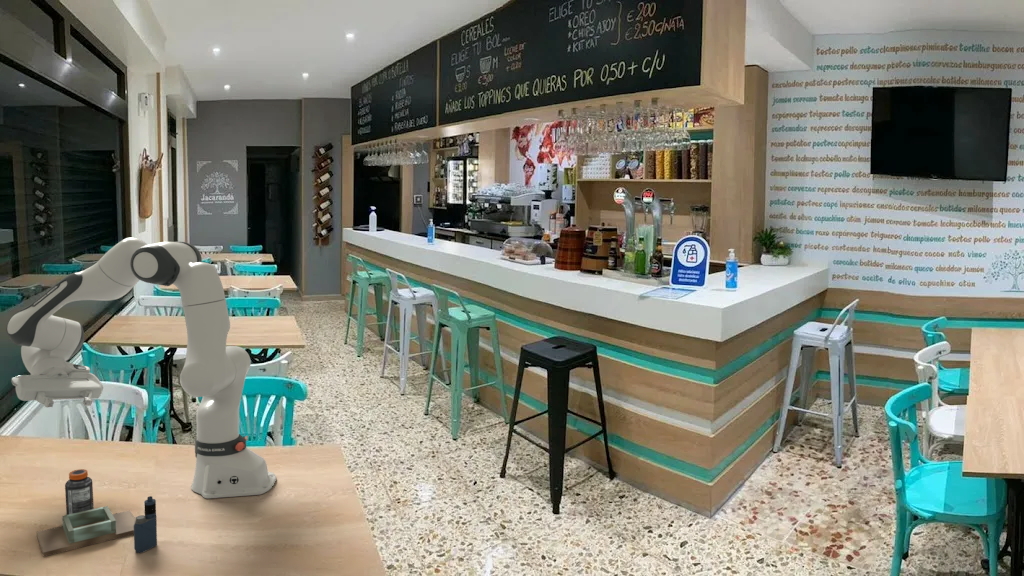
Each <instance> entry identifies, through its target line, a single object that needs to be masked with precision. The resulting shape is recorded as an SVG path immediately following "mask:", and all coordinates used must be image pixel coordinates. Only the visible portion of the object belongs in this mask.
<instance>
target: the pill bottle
mask: <svg viewBox="0 0 1024 576" xmlns="http://www.w3.org/2000/svg"><path fill="white" fill-rule="evenodd" d="M64 489H65V490H64V491H65V494H64V495H65V507H66V508H65V509H66V510H65V511H66V515H69V514H74V513H78V512H83V511H87V510H92V509H95V508H94V490H93V489H94V487H93V479H92V478H91V477H89V474H88V470H87V469H85V468H84V469H83V468H79V469H74V470H72V471H70V472H69V473H68V480H67V481H66V482H65V485H64Z"/></svg>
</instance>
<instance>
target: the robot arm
mask: <svg viewBox="0 0 1024 576" xmlns="http://www.w3.org/2000/svg"><path fill="white" fill-rule="evenodd" d="M140 281H141V282H144V283H147V284H152V285H160V286H164V287H170V286H171V285H174V286H175V287H176V288H177V289H178V291H179V293H180V298H181V305H182V309H183V310H182V311H183V315H184V322H185V327H186V336H187V339H186V340H187V342H186V343H187V344H186V354H185V362H184V365H183V367H182V369H181V371H180V374H179V384H180V385H181V388H182V389H183V391H184V392H185V393H187V394H188V395H189V396H192V397H194V398H201V397H202V399H201V401H200V404H199V405H198V407H197V409H196V417H195V418H196V437H195V440H194V441H195V442H194V454H195V458H196V460H195V461H196V462H195V469H194V475H193V479H192V483H191V486H190V487H191V490H192V491H193V492H194V493H197V494H199V495H201V496H202V497H203V498H204V499H216V498H217V499H218V498H232V497H245V496H246V497H247V496H256V495H257V496H258V495H263V494H265V493H267V492H269V491H270V490H271V489H272V488H273V487H272V486H274V485H275V484H274V483H276V482H277V476H276V474H275V473H274V472H272V471H269V470H268V464H267V462H266V459H265V458H264V457H263V456H261V455H259V454H257V453H256V452H254V451H253V450H251V449H250V448H248V447H247V441H248V435H246V436H242V435H241V434H240V405H241V401H242V395H243V390H244V386H245V382H246V377H247V374H248V372H249V370H250V368H251V366H252V365H251V363H252V361H251V357H250V354H249V353H248V352H247V351H246V349H244V348H243V347H241V346H238V345H237V346H236V345H227V339H228V335H229V334H228V333H229V332H230V328H231V320H230V317H229V311H228V305H227V301H226V300H227V299H226V296H225V295H226V294H225V290H224V287H223V284H222V280H221V277H220V275H219V272H218V270H217V268H216V267H215V266H214V265H213V264H211V263H209V262H204V261H203V259H202V255H201V252H200V250H199V249H198V248H197V247H196V246H195V245H193V244H191V243H190V242H185V241H161V242H155V243H149V244H148V243H147V242H145V241H144V240H142V239H140V238H137V237H125V238H124V239H122V240H120V241H119V242H118V243H115V245H113V246H112V247H111V248H109V250H108V251H106V252H105V254H104V255H102V257H100V259H99V260H98V261H97V262H96V263H94V264H93V265H91V266H90V267H88V268H85V269H83V270H81V271H78V272H74V273H69V274H68V275H66V276H65V277H64V278H62V279H61V280H59V281H58V282H57V283H55V284H54V285H53V286H52V287H50V288H49V289H48V290H47V291H46V292H44V293H43V294H41V296H39V297H38V298H37V299H36V300H34V301H33V302H32V303H30V304H28V306H26V307H23V308H21V309H20V310H19V311H17V312H15V313H14V314H13V315H12V316H11V317H10V318H9V320H8V321H7V325H6V330H5V331H6V333H7V336H8V338H9V339H10V341H11V342H12V343H13V344H14V345H16V346H21V347H20V354H21V359H22V363H23V365H24V367H25V369H26V370H27V371H28V372H29V373H30V374H28V375H27V374H23V375H16V376H15V377H11V379H10V380H11V384H12V386H14V387H15V393H16V397H17V399H19V400H21V401H23V402H26V401H27V402H28V401H29V402H30V401H36V402H37V403H39V404H42V405H44V408H53V406H54V401H57V400H60V401H61V400H83V401H82V405H83V406H85V407H88V406H89V407H90V406H91V407H92V404H93V400H95V399H99V398H101V395H102V394H103V390H104V385H103V383H102V382H101V380H100V379H99V378H98V376H96V375H95V374H93V373H92V372H91V368H90V367H89V366H87V365H81V364H76V363H72V362H69V360H71V359H72V358H73V357H74V356H75V355H76V354H77V353H78V352H79V351H80V349H82V347H83V345H84V342H85V332H84V328H83V326H82V324H81V323H80V322H79V321H76V320H73V319H68V318H65V317H61V316H56V315H54V314H55V313H56V312H58V311H59V310H60V309H61V308H63V307H64V306H65V305H67V304H69V303H73V302H76V301H103V302H104V301H115V300H118V299H120V298H123V296H125V295H127V294H128V293H129V292H130V291H131V290H132V289H133V288H134V287H135V285H136V284H137V283H138V282H140ZM275 481H276V482H275Z"/></svg>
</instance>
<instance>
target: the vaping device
mask: <svg viewBox="0 0 1024 576" xmlns="http://www.w3.org/2000/svg"><path fill="white" fill-rule="evenodd" d="M156 501H157V500H156V499H155V498H153V496H152V495H150V496H148V497H147V499H146V500H144V505H143V506H144V514H140V515H137V516H136V517H135V519H136V521H135V524H134V534H133V541H134V542H133V546H134V547H133V548H134V551H135V552H136V553H138V554H142V553H145V552H147V551H149V550H152V549H153V548H155V547H156V546H158V534H157V532H158V531H157V525H158V524H157V504H156V503H157V502H156Z"/></svg>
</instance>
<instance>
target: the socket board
mask: <svg viewBox="0 0 1024 576" xmlns="http://www.w3.org/2000/svg"><path fill="white" fill-rule="evenodd" d="M61 517H62V525H59V526H55V527H51V528H47V529H42V530H38V531H36V537H37V541H38V544H39V547H40V550H41V553H42V557H48V556H51V555H55V554H60V553H63V552H66V551H67V552H68V551H71V550H76V549H79V548H84V547H87V546H88V547H89V546H91V545H95V544H99V543H104V542H107V541H113V540H115V539H119V538H120V539H121V538H123V537H127V536H131V535H134V524H135V521H136V517H135V516H134V515H133V513H132V510H130V509H129V510H125V511H121V512H117V513H112V511H111V509H110V508H109V506H108V505H105V506H100V507H95V508H94V509H92V510H87V511H83V512H78V513H74V514H69V515H67V514H65V515H62V516H61Z"/></svg>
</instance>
